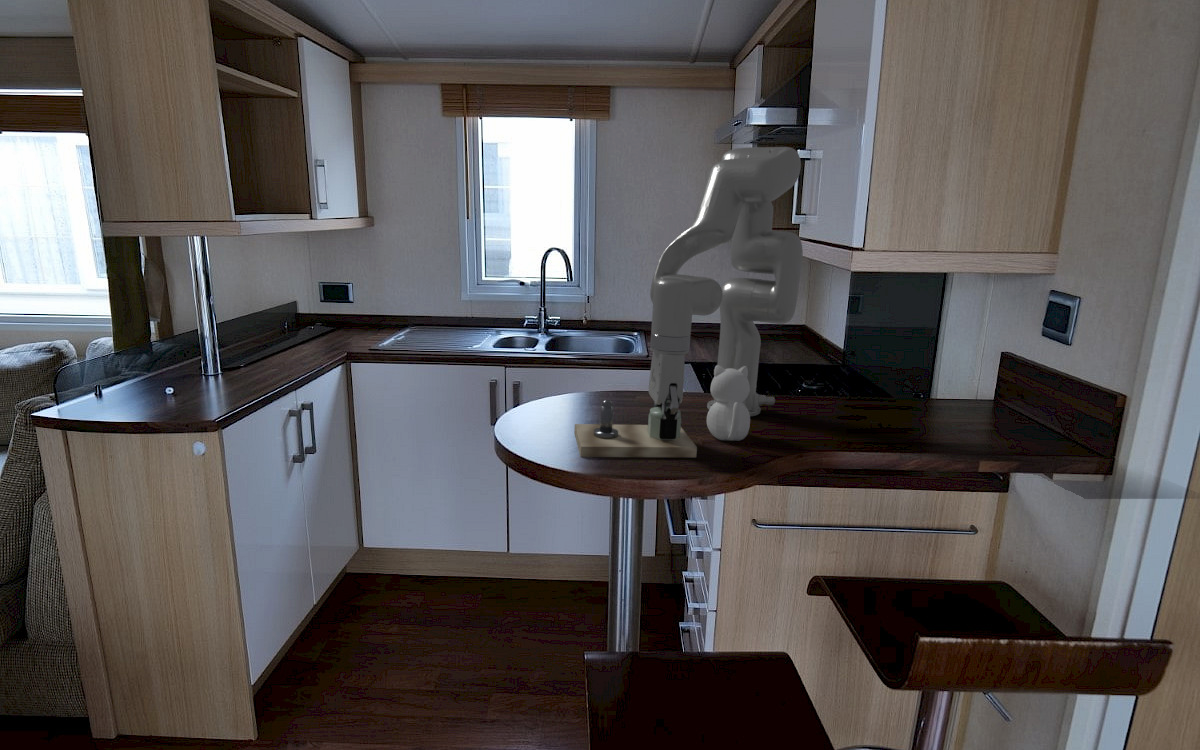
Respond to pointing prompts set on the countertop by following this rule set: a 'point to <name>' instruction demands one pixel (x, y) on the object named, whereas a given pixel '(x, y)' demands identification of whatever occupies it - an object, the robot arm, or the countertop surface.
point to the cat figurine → (729, 404)
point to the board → (631, 443)
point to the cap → (655, 423)
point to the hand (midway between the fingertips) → (663, 432)
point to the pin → (606, 422)
